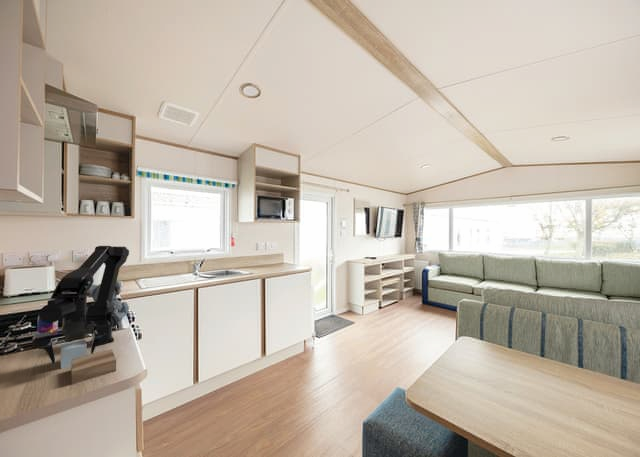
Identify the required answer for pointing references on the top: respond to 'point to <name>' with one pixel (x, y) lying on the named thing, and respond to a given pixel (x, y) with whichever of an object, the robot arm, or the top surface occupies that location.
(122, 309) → the koala plush
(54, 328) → the energy drink
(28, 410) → the top surface
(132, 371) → the top surface
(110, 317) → the robot arm
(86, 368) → the walnut block
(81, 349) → the slate cube
